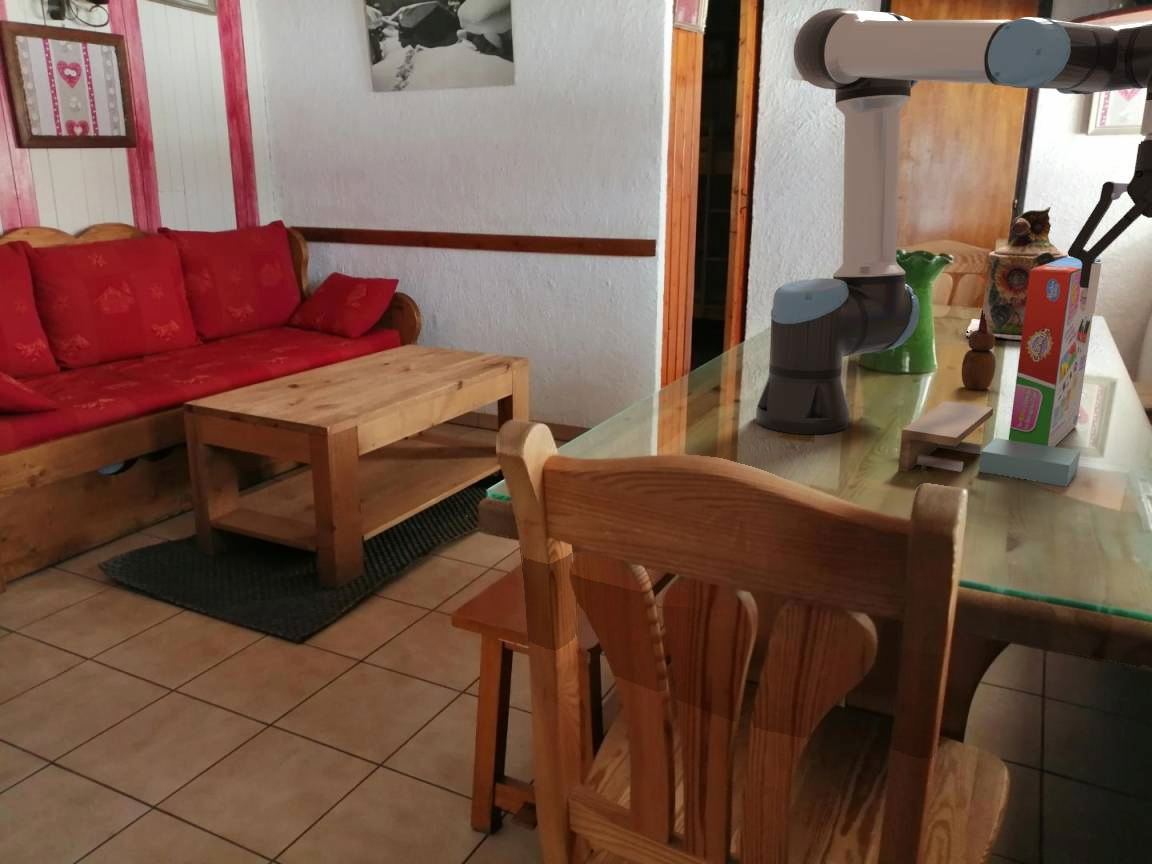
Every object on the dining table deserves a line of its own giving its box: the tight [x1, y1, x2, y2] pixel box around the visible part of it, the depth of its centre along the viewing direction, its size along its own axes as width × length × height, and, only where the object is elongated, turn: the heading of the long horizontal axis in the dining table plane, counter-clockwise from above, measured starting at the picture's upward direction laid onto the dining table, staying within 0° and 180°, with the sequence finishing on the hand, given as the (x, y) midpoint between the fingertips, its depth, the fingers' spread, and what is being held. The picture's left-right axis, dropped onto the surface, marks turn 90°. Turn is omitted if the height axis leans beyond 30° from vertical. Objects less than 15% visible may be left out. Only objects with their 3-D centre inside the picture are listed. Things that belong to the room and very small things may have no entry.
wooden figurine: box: [961, 309, 997, 391], centre depth 173 cm, size 7×6×15 cm
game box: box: [1008, 257, 1102, 447], centre depth 138 cm, size 21×6×27 cm, turn 141°
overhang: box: [898, 400, 994, 473], centre depth 132 cm, size 7×20×6 cm, turn 143°
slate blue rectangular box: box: [978, 437, 1081, 488], centre depth 126 cm, size 11×8×3 cm
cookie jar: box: [965, 206, 1069, 341], centre depth 228 cm, size 25×25×32 cm
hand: (1146, 318), depth 114 cm, fingers open, 12 cm apart
